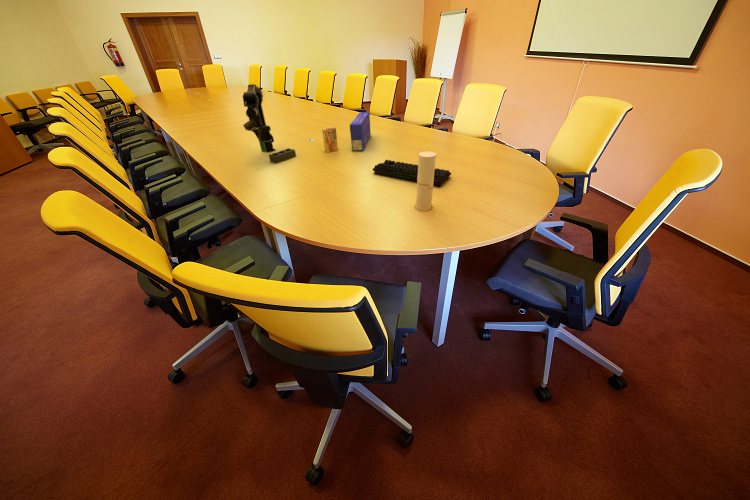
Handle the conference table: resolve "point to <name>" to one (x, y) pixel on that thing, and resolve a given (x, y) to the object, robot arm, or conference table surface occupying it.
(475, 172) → the conference table surface
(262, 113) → the robot arm
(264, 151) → the capped tube
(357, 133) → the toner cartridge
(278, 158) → the organiser
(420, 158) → the cylindrical container
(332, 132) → the candy box
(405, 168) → the keyboard
